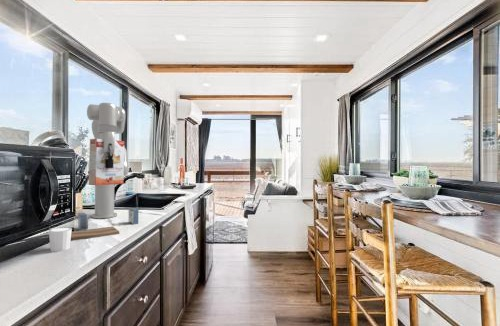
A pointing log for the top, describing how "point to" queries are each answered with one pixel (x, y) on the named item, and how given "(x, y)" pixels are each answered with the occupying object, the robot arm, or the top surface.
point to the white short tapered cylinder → (60, 239)
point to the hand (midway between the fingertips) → (107, 167)
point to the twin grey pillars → (84, 219)
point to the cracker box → (97, 164)
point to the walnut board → (93, 233)
